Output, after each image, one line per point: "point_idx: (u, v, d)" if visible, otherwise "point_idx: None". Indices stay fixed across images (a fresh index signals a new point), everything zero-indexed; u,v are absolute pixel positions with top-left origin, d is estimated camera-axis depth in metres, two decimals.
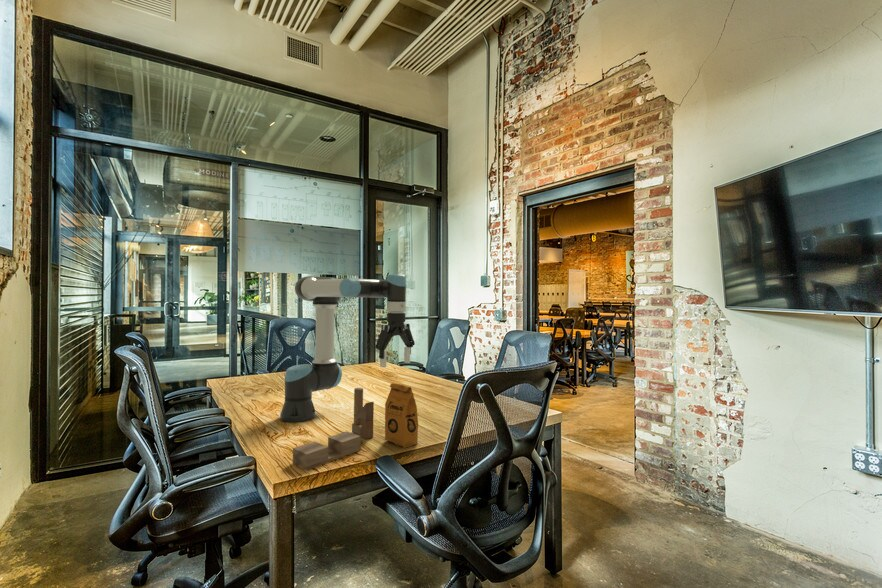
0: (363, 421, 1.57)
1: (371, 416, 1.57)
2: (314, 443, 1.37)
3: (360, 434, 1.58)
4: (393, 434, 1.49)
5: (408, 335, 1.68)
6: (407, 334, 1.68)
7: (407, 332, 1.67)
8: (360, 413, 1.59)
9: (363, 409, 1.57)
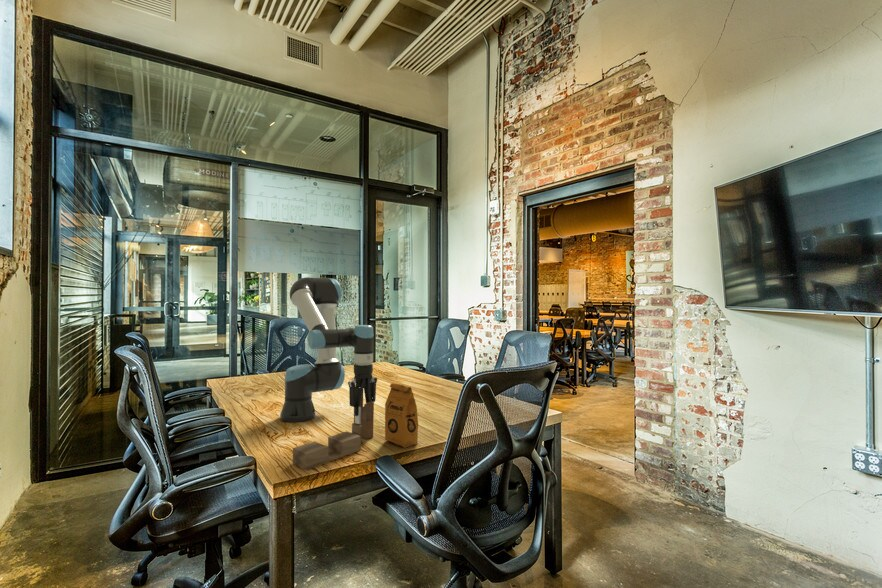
0: (363, 421, 1.57)
1: (371, 416, 1.57)
2: (314, 443, 1.37)
3: (360, 434, 1.58)
4: (393, 434, 1.49)
5: (372, 389, 1.64)
6: (371, 388, 1.65)
7: (372, 386, 1.64)
8: None
9: (363, 409, 1.57)
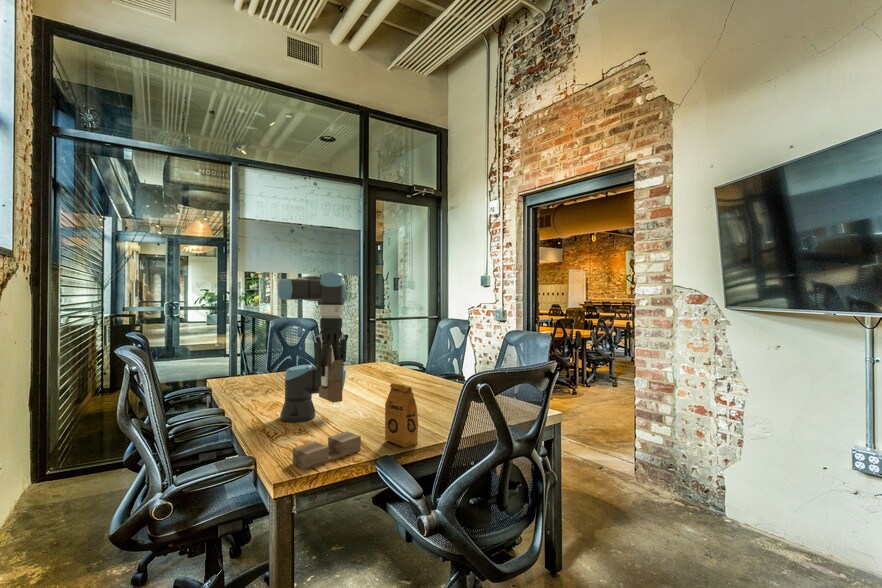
0: (330, 382, 1.35)
1: (340, 376, 1.36)
2: (314, 443, 1.37)
3: (327, 398, 1.37)
4: (393, 434, 1.49)
5: (342, 348, 1.43)
6: (341, 346, 1.43)
7: (342, 344, 1.43)
8: None
9: (330, 368, 1.35)
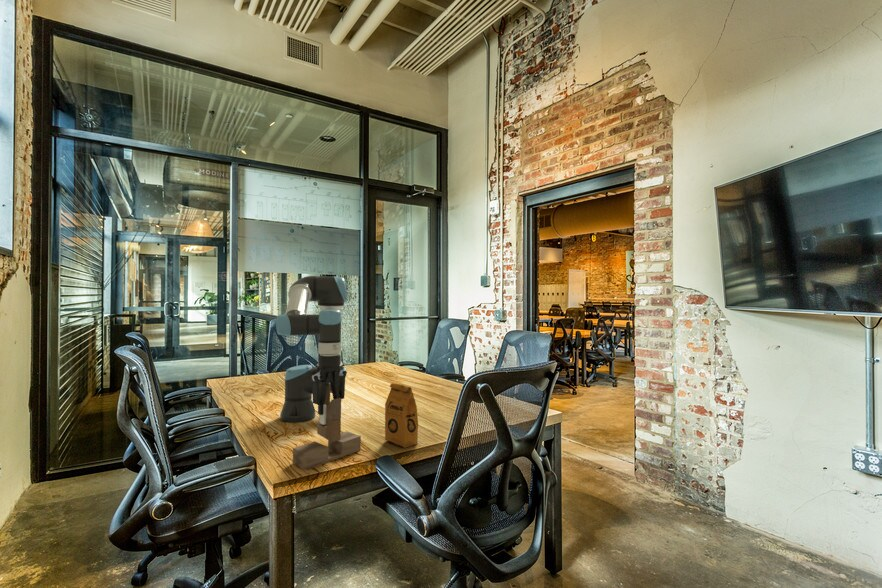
0: (329, 421, 1.35)
1: (338, 415, 1.35)
2: (314, 443, 1.37)
3: (325, 436, 1.36)
4: (393, 434, 1.49)
5: (340, 384, 1.42)
6: (340, 383, 1.42)
7: (340, 380, 1.42)
8: (326, 412, 1.36)
9: (329, 407, 1.35)
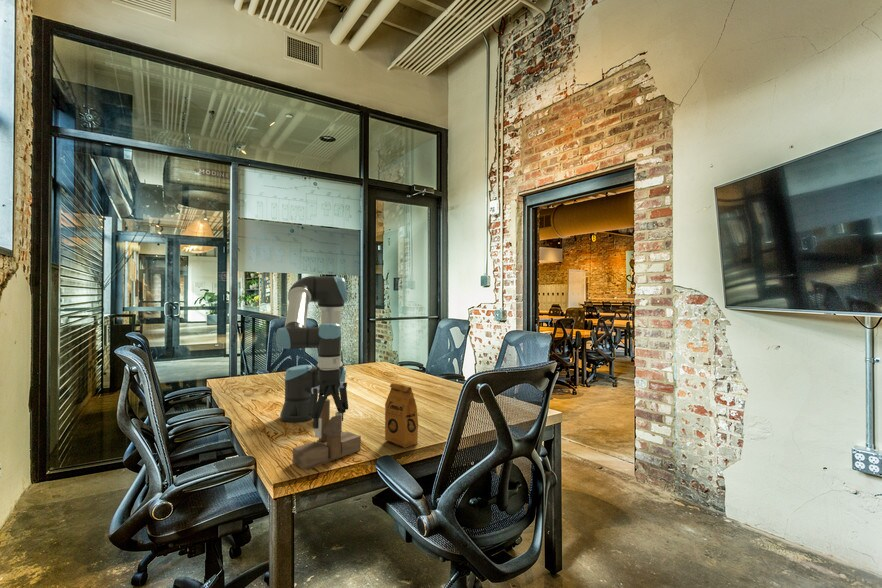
0: (329, 438, 1.35)
1: (338, 432, 1.35)
2: (314, 443, 1.37)
3: None
4: (393, 434, 1.49)
5: (342, 396, 1.43)
6: (342, 395, 1.43)
7: (342, 392, 1.43)
8: (325, 428, 1.36)
9: (329, 424, 1.35)
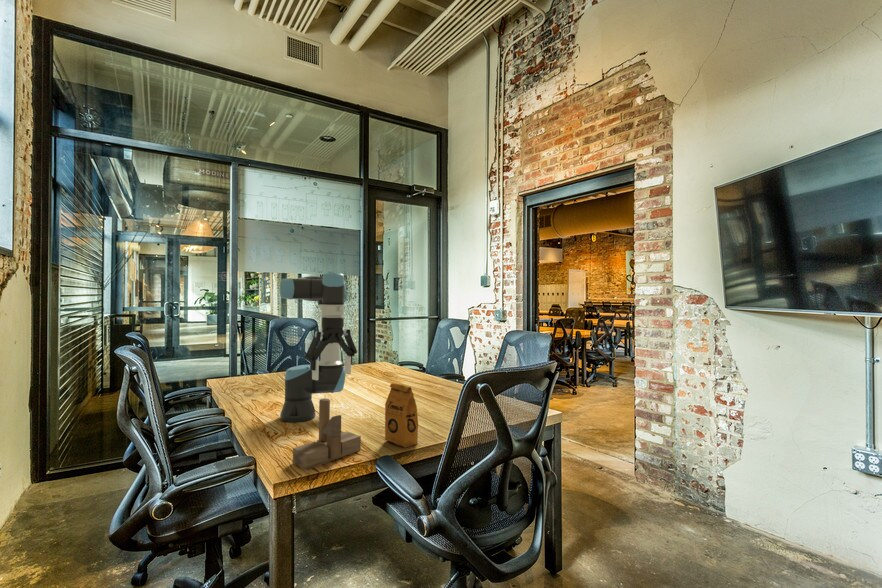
0: (329, 438, 1.35)
1: (338, 432, 1.35)
2: (314, 443, 1.37)
3: None
4: (393, 434, 1.49)
5: (349, 342, 1.47)
6: (348, 341, 1.47)
7: (347, 339, 1.46)
8: (325, 428, 1.36)
9: (329, 424, 1.35)
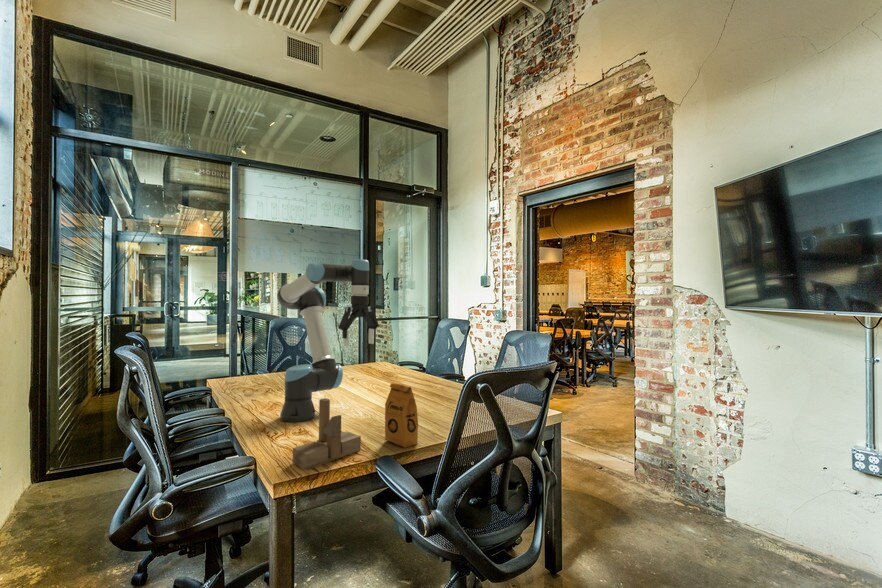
0: (329, 438, 1.35)
1: (338, 432, 1.35)
2: (314, 443, 1.37)
3: None
4: (393, 434, 1.49)
5: (372, 317, 1.77)
6: (371, 316, 1.77)
7: (371, 314, 1.77)
8: (325, 428, 1.36)
9: (329, 424, 1.35)
